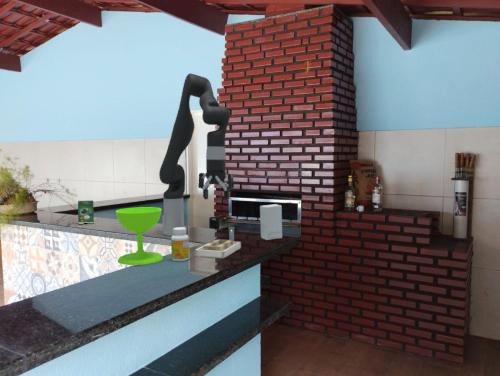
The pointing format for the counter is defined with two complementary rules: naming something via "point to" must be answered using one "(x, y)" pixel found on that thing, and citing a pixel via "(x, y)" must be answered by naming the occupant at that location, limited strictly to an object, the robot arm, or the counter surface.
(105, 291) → the counter surface
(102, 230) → the counter surface
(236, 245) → the tray
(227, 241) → the tan irregular block
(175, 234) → the supplement bottle
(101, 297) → the counter surface
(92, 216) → the coffee box
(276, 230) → the skincare box
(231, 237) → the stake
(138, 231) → the wineglass
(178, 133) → the robot arm
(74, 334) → the counter surface
